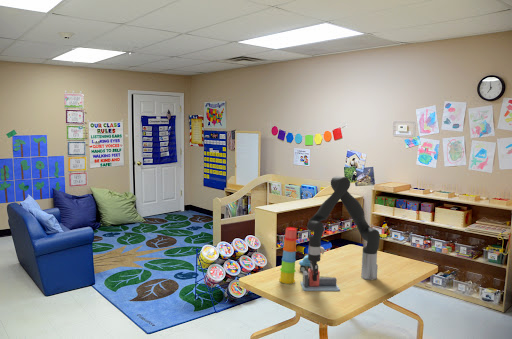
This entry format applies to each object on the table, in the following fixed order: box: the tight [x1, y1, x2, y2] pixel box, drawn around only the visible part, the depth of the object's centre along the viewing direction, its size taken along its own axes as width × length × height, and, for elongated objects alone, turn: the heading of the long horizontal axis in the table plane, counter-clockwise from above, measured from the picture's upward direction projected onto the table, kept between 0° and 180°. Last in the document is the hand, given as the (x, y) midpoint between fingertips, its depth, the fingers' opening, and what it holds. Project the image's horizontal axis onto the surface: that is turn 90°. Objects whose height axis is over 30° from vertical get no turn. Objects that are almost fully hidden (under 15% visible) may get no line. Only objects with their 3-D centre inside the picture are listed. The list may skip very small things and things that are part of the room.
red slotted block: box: [307, 269, 320, 286], centre depth 244 cm, size 6×6×9 cm
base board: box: [299, 281, 341, 292], centre depth 245 cm, size 22×12×1 cm, turn 93°
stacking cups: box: [278, 226, 298, 285], centre depth 251 cm, size 10×10×35 cm
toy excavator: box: [298, 246, 325, 273], centre depth 272 cm, size 9×17×17 cm, turn 78°
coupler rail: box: [302, 270, 337, 288], centre depth 245 cm, size 20×7×8 cm, turn 93°
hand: (313, 278), depth 244 cm, fingers open, 8 cm apart
